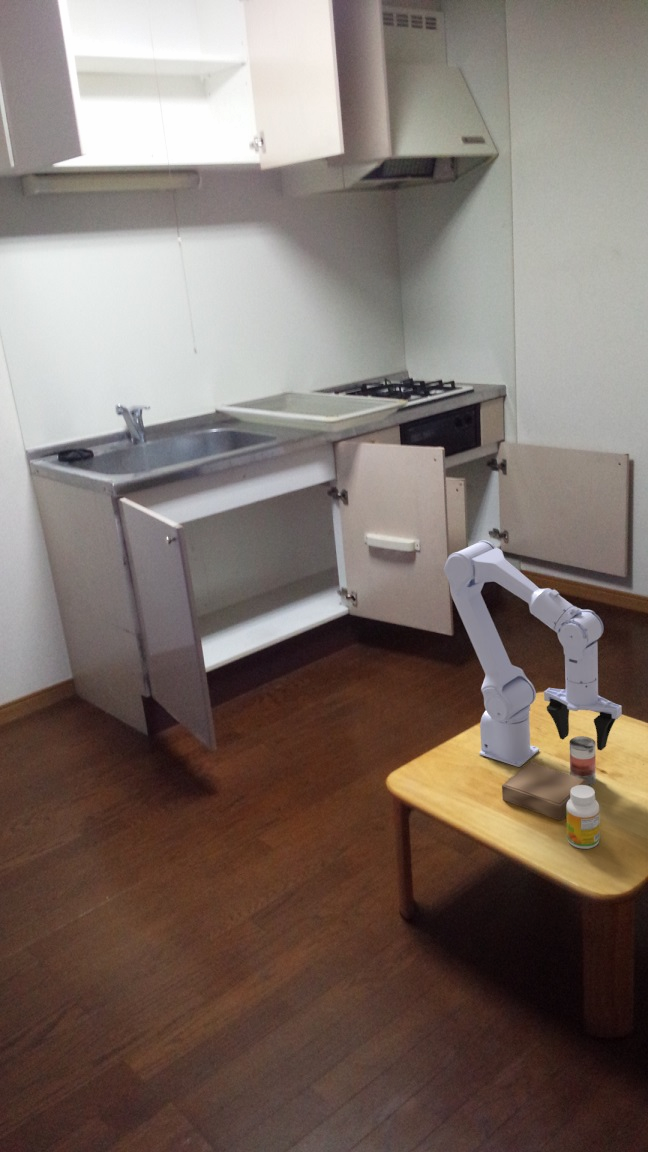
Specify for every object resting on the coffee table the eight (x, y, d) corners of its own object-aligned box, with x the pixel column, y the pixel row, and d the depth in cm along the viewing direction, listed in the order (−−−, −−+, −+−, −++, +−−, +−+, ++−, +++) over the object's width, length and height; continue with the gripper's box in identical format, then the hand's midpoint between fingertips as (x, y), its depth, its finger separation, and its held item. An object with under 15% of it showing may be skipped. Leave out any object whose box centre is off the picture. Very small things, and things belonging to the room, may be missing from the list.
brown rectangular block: (502, 799, 168) (501, 785, 167) (530, 775, 174) (529, 761, 173) (561, 820, 160) (560, 805, 159) (587, 794, 166) (587, 779, 165)
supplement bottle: (562, 833, 156) (561, 784, 153) (592, 828, 156) (592, 780, 153) (573, 851, 151) (572, 802, 148) (604, 847, 151) (604, 797, 148)
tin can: (565, 781, 171) (564, 744, 168) (577, 770, 174) (576, 734, 172) (588, 789, 168) (588, 751, 165) (600, 777, 171) (600, 740, 168)
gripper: (535, 676, 166) (537, 741, 171) (609, 694, 157) (609, 762, 161) (554, 662, 171) (555, 725, 175) (626, 679, 161) (626, 745, 166)
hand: (582, 742), depth 168 cm, fingers open, 7 cm apart
